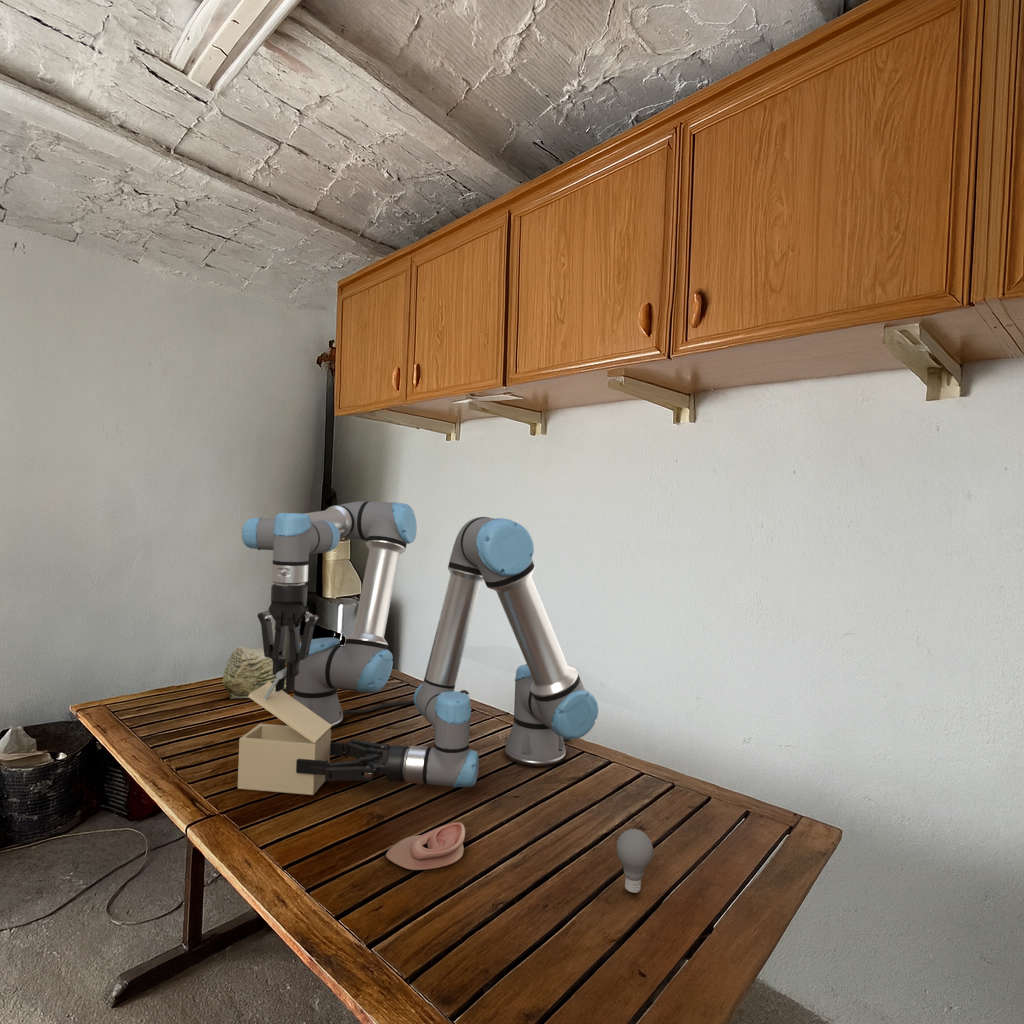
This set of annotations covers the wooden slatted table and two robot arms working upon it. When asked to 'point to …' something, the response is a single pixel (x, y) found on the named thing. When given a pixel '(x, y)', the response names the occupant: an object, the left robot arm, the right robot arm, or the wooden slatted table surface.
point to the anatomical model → (430, 848)
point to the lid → (290, 710)
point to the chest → (279, 760)
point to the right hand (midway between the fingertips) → (306, 756)
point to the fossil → (247, 672)
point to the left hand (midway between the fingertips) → (284, 689)
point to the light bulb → (634, 857)
